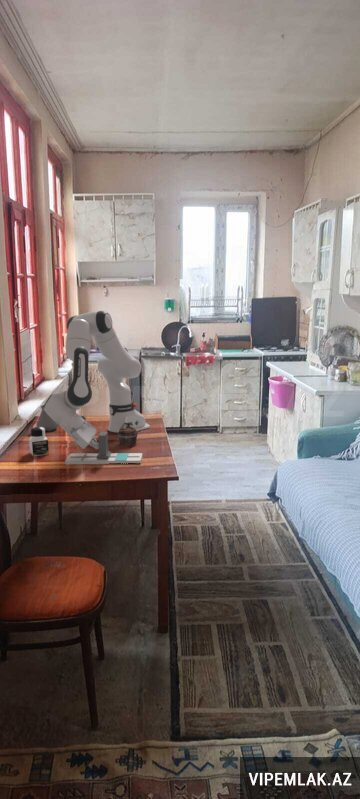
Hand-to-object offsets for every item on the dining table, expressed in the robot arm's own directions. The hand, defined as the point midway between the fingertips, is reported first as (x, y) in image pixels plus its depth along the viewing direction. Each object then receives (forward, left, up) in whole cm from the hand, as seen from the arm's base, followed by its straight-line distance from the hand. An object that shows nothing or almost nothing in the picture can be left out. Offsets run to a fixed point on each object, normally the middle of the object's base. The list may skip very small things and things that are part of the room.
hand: (98, 447), depth 213 cm
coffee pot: (-7, -62, -6) cm, 63 cm away
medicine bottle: (+17, -25, -6) cm, 31 cm away
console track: (-2, +2, -6) cm, 6 cm away
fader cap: (-2, +1, -4) cm, 4 cm away
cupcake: (-23, -14, -6) cm, 28 cm away
